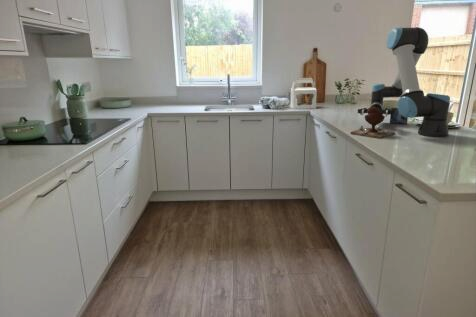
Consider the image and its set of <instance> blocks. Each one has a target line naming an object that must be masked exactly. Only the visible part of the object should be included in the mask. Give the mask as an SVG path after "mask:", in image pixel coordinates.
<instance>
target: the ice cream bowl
mask: <svg viewBox="0 0 476 317" xmlns="http://www.w3.org/2000/svg"><path fill="white" fill-rule="evenodd" d="M368 108H369V109H368ZM368 108H367V109H368V110H367V113H366V115H364V119H365V121H366V123H368V124H369V125H371V128H372V129H371V130H369V131H368V132H371V133H377V132H378V131H377V130H376V129H377V128H376V126H379V124H381V123H382V122H383V121H384V120H385V118H386V115H384V114H383V112H382V111H381V110H379V109H377V108H376V107H368Z"/></svg>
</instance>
